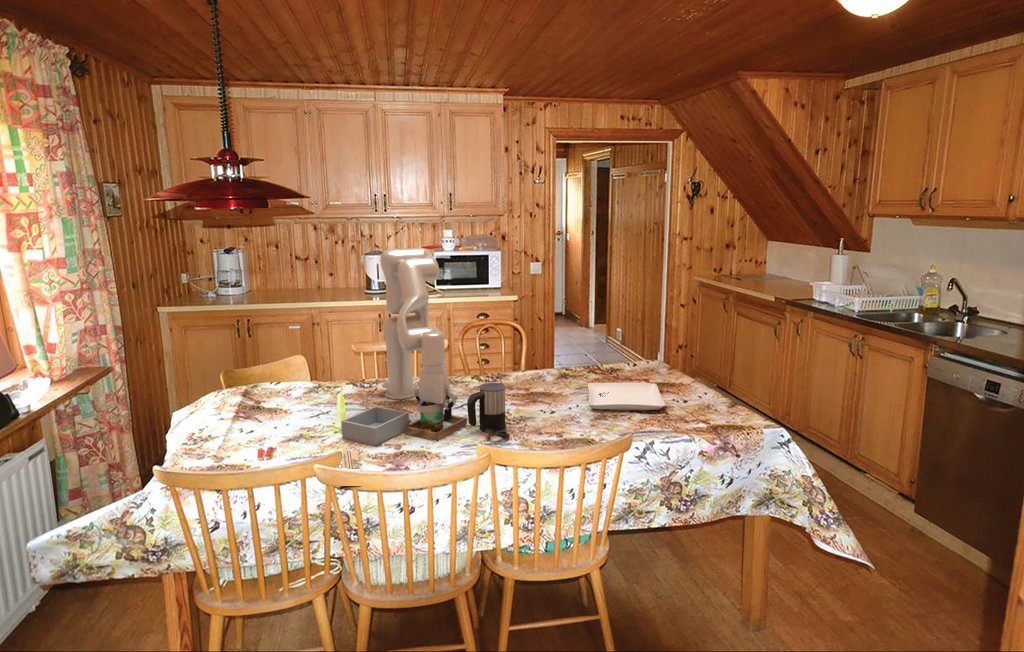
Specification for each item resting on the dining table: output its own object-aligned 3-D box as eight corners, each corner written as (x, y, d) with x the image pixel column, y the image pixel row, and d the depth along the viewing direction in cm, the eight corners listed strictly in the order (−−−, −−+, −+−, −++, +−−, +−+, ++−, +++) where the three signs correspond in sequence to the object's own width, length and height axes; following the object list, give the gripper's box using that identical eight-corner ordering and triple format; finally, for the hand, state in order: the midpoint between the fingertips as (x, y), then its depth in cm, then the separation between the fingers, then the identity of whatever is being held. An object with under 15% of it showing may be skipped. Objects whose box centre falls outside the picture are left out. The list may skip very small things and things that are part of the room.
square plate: (655, 391, 250) (656, 382, 250) (665, 415, 224) (665, 404, 223) (587, 390, 253) (587, 381, 252) (589, 413, 226) (589, 403, 226)
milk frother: (492, 421, 219) (491, 380, 216) (527, 431, 209) (527, 388, 206) (463, 433, 209) (462, 390, 206) (499, 444, 199) (498, 400, 196)
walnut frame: (405, 434, 209) (404, 426, 208) (435, 418, 223) (434, 411, 222) (438, 441, 202) (437, 434, 202) (466, 424, 216) (466, 418, 216)
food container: (436, 437, 206) (435, 408, 204) (420, 435, 208) (418, 406, 206) (452, 424, 217) (451, 396, 215) (436, 422, 219) (435, 394, 217)
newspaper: (337, 457, 192) (336, 452, 192) (361, 454, 195) (360, 449, 194) (340, 491, 170) (340, 485, 170) (367, 487, 172) (366, 481, 172)
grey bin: (342, 438, 206) (341, 421, 205) (376, 422, 220) (375, 405, 219) (376, 446, 199) (375, 428, 198) (409, 429, 213) (408, 412, 212)
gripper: (406, 368, 209) (409, 417, 212) (448, 374, 201) (450, 425, 204) (420, 362, 215) (422, 410, 219) (462, 368, 207) (463, 418, 210)
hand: (436, 417), depth 211 cm, fingers open, 9 cm apart
